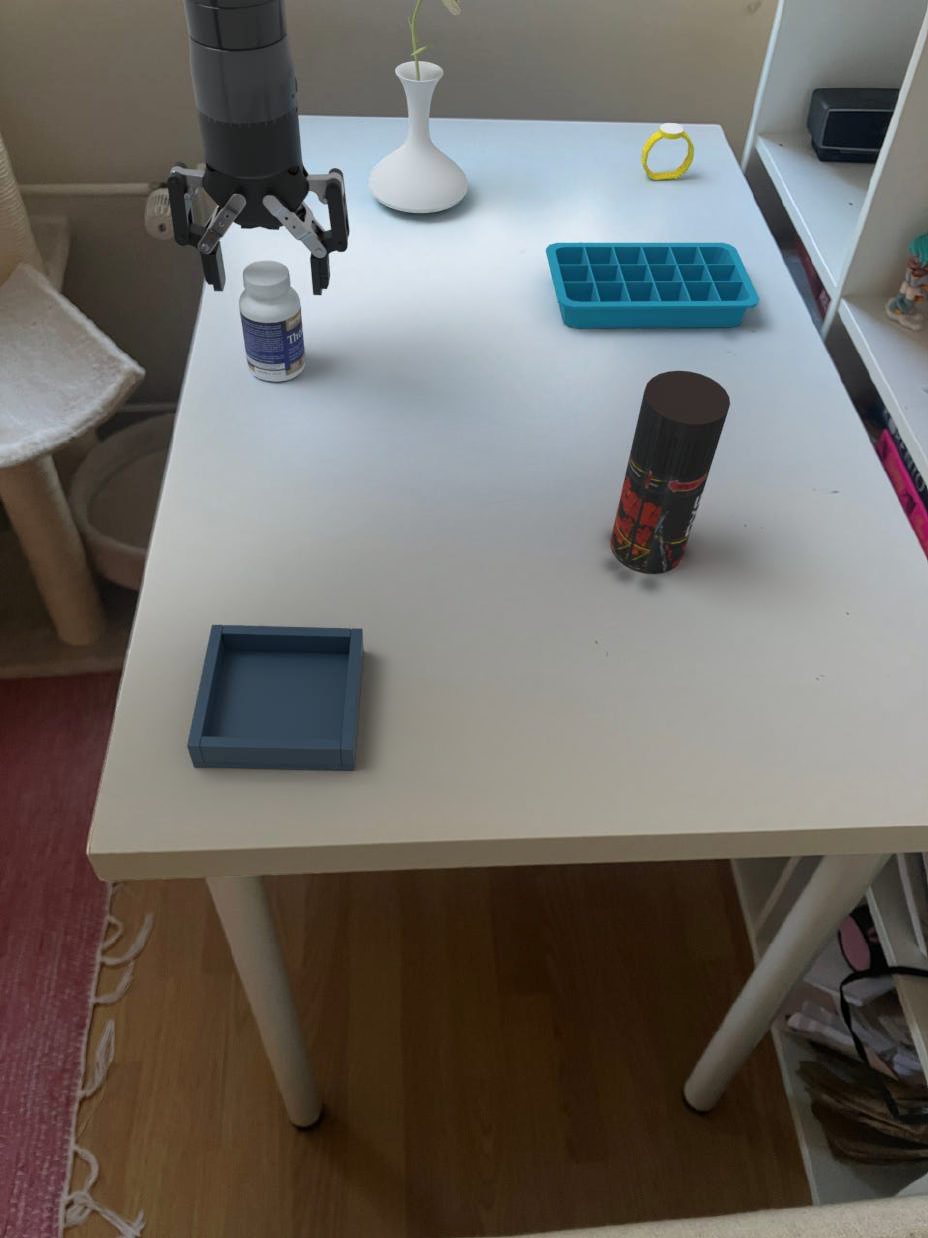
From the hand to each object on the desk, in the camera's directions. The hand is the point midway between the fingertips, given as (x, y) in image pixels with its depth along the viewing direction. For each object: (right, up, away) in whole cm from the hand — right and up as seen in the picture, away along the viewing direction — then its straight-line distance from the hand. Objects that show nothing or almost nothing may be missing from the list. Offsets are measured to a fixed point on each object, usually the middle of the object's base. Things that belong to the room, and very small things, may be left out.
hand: (269, 288), depth 88 cm
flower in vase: (+12, +20, +28) cm, 36 cm away
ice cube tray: (+36, +4, +16) cm, 39 cm away
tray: (+4, -35, -18) cm, 40 cm away
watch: (+41, +24, +33) cm, 58 cm away
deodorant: (+32, -23, -6) cm, 40 cm away
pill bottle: (-1, -5, +6) cm, 8 cm away
